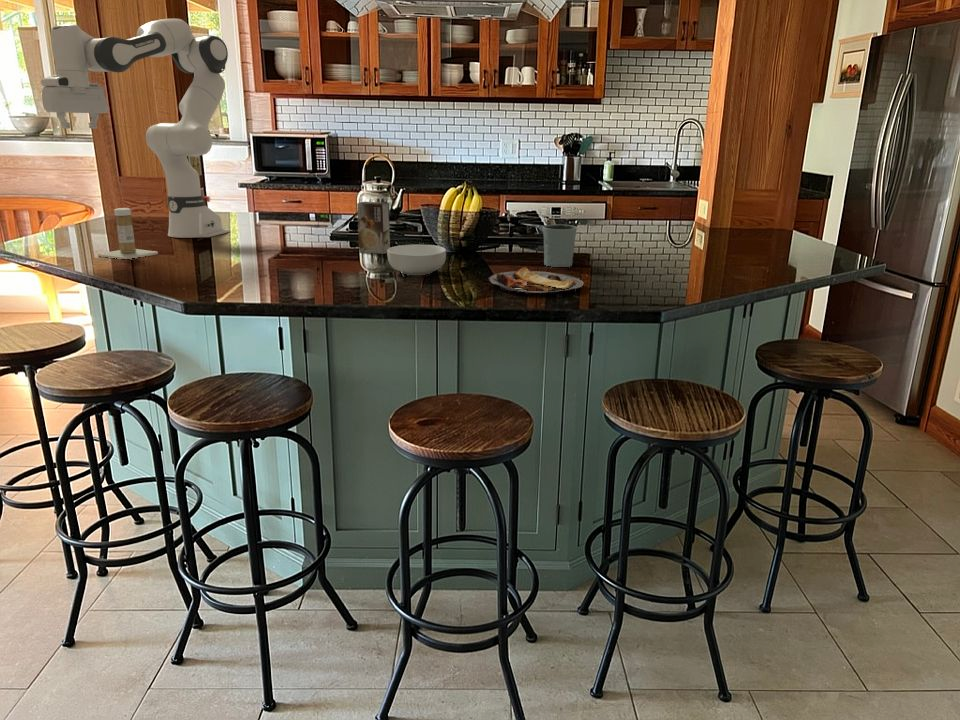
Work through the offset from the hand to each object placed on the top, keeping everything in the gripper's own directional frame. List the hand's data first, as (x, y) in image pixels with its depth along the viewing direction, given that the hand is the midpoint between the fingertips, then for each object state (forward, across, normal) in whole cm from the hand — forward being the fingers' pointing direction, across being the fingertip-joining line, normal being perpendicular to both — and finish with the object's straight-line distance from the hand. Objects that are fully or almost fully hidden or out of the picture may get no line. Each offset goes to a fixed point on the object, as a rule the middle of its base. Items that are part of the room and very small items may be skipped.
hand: (80, 128), depth 226 cm
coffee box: (+37, -37, +84) cm, 99 cm away
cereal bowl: (+38, -13, +113) cm, 120 cm away
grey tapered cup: (+37, -45, +145) cm, 156 cm away
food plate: (+38, -13, +149) cm, 154 cm away
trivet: (+37, +7, +22) cm, 44 cm away
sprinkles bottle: (+36, +7, +22) cm, 43 cm away
